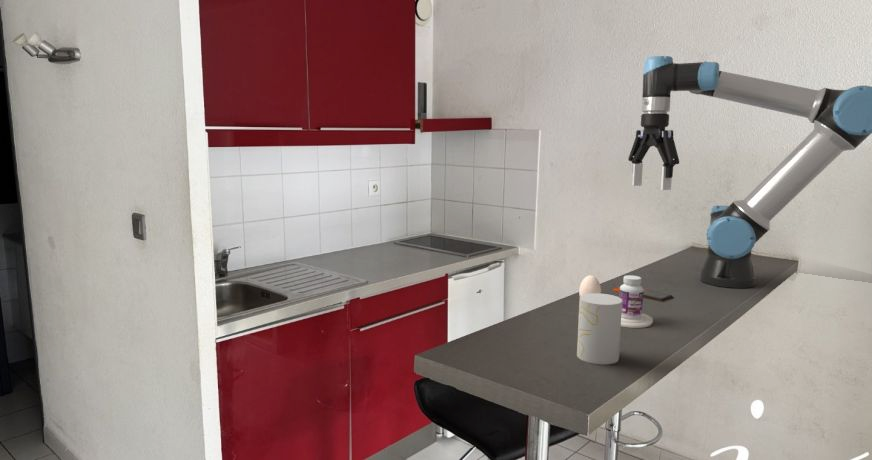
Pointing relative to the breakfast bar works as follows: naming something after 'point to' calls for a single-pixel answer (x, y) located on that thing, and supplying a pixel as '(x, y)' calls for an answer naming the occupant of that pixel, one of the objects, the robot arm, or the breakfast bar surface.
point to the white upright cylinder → (599, 328)
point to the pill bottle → (631, 297)
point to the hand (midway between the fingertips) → (650, 187)
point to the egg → (589, 285)
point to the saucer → (637, 322)
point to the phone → (652, 295)
